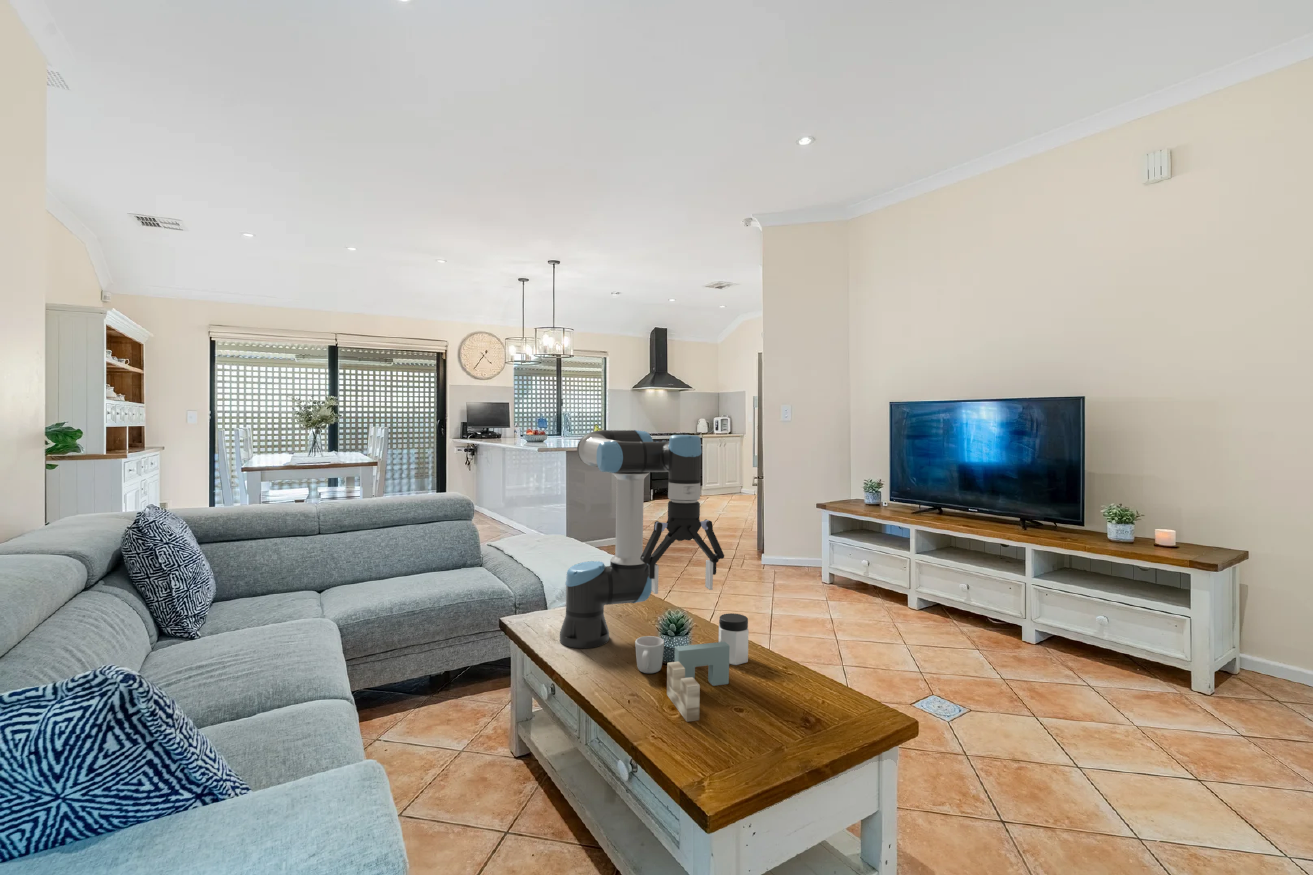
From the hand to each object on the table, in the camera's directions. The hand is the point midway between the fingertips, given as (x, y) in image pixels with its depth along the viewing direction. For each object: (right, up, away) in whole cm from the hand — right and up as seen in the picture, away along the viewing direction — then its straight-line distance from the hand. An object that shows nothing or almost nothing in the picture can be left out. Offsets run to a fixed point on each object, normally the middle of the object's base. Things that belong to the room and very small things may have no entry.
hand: (682, 590), depth 141 cm
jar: (+16, -28, +30) cm, 44 cm away
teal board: (+6, -28, +13) cm, 31 cm away
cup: (-8, -28, +21) cm, 35 cm away
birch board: (0, -28, +1) cm, 28 cm away
